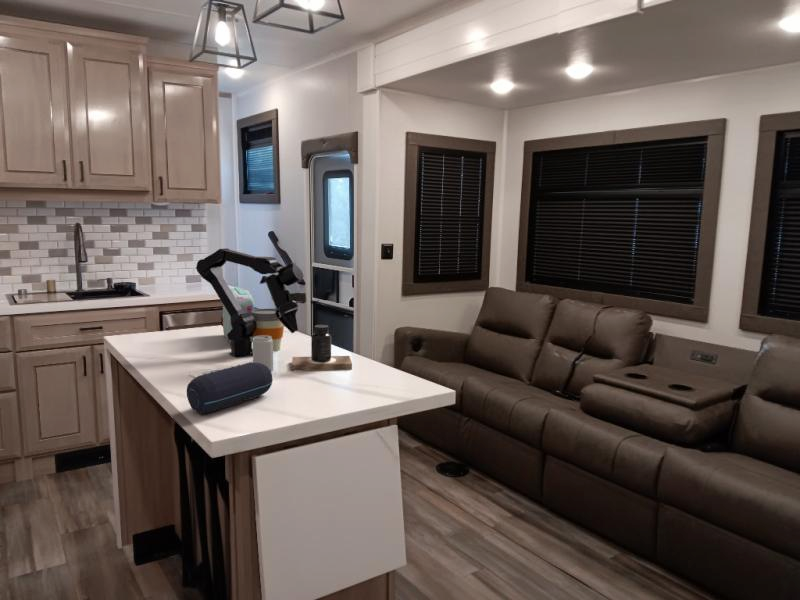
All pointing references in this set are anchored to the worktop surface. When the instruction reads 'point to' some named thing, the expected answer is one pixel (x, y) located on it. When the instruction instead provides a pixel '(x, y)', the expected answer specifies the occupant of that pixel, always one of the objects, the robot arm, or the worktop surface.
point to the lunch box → (245, 303)
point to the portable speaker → (228, 387)
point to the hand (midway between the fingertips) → (295, 331)
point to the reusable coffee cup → (268, 326)
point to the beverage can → (263, 350)
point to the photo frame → (205, 372)
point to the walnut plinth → (322, 363)
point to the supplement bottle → (321, 344)
